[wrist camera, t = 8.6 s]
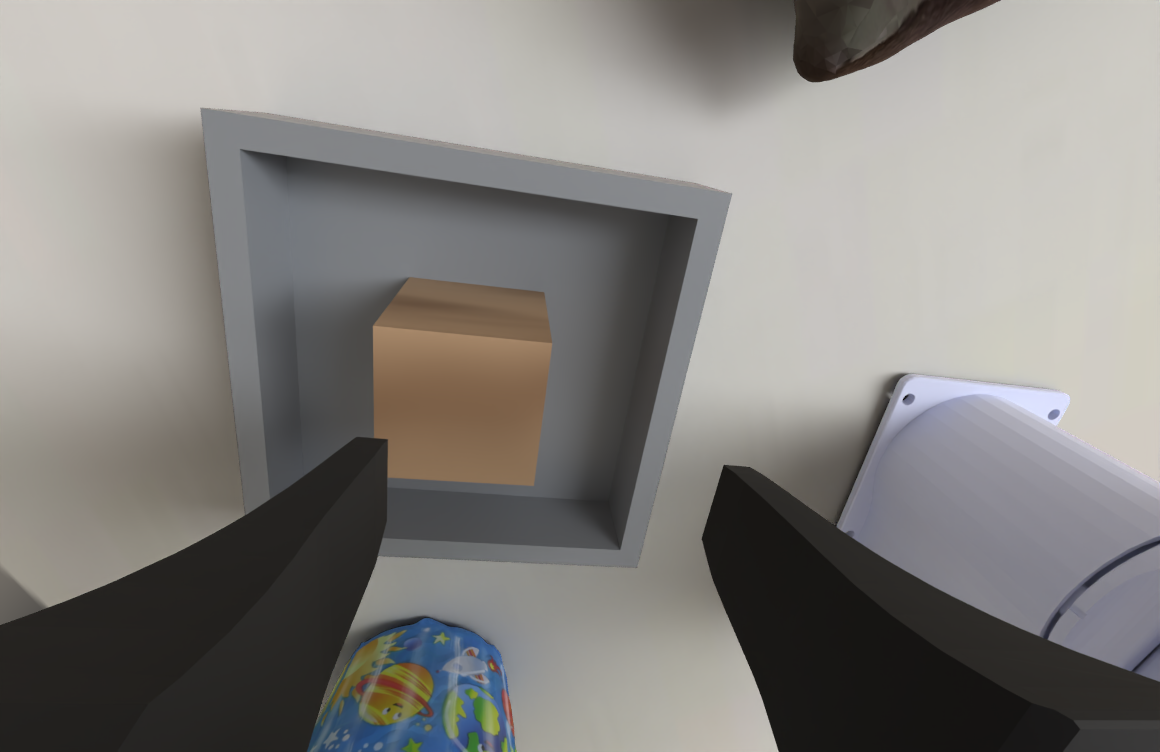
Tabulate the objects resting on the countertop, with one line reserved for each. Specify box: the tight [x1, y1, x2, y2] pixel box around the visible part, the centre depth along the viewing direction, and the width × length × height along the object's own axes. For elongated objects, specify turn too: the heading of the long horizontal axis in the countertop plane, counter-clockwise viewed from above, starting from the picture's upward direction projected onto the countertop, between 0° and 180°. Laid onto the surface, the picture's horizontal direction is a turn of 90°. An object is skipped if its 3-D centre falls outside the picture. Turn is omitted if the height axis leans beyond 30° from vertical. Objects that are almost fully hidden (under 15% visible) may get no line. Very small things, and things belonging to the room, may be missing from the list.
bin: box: [201, 108, 732, 568], centre depth 18 cm, size 14×14×4 cm
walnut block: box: [373, 277, 552, 486], centre depth 17 cm, size 4×4×5 cm
